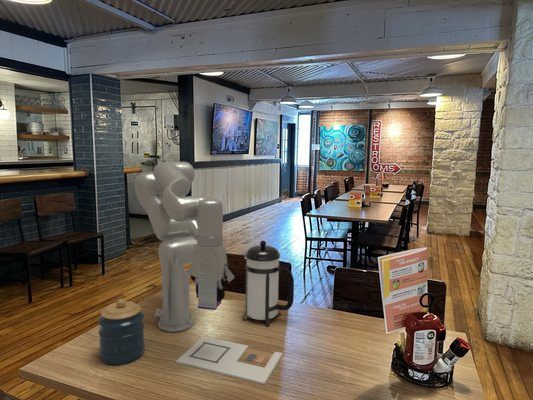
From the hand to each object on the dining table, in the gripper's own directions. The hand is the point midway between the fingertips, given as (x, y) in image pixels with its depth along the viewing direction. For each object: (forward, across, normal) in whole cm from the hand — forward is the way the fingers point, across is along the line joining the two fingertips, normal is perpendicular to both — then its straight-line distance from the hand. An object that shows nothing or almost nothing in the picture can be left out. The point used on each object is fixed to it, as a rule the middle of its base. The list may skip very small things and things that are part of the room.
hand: (210, 297), depth 113 cm
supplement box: (+3, 0, 0) cm, 3 cm away
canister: (+19, -25, -10) cm, 33 cm away
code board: (+18, +7, 0) cm, 20 cm away
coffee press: (+19, +7, +30) cm, 36 cm away
